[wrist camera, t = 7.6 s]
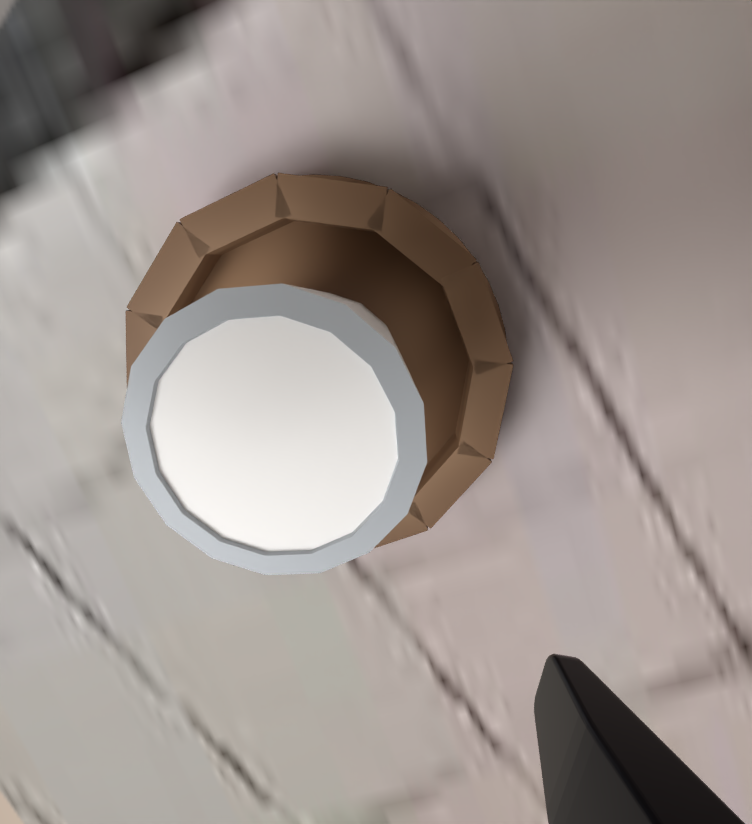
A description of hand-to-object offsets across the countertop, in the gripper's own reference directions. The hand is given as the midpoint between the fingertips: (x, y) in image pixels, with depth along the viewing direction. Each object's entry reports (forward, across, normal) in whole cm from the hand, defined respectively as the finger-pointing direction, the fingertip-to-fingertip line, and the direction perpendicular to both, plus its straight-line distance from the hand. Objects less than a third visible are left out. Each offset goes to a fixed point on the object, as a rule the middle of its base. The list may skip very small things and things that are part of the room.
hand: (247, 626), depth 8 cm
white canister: (+11, +1, -1) cm, 11 cm away
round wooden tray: (+12, +1, -1) cm, 12 cm away
